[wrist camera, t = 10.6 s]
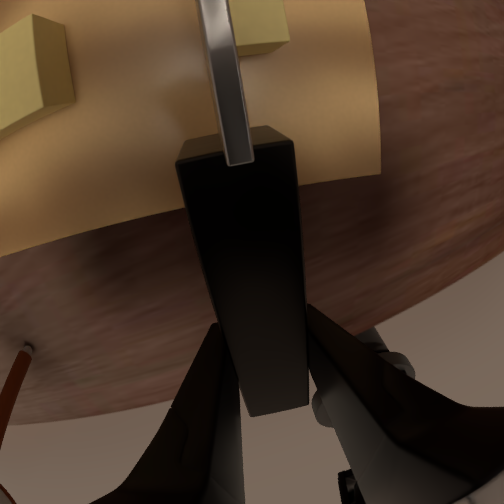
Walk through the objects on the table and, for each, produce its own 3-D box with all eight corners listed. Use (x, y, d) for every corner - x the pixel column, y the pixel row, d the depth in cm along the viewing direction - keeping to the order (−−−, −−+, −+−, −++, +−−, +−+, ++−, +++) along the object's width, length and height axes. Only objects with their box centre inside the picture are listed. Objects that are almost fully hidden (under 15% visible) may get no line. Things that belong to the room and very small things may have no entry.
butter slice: (272, 52, 10) (291, 41, 8) (211, 61, 10) (211, 50, 8) (257, -27, 8) (271, -55, 6) (197, -20, 8) (195, -49, 6)
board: (370, 168, 15) (381, 174, 14) (2, 250, 14) (-8, 260, 13) (333, -70, 8) (342, -79, 7) (-46, 46, 7) (-58, 46, 6)
